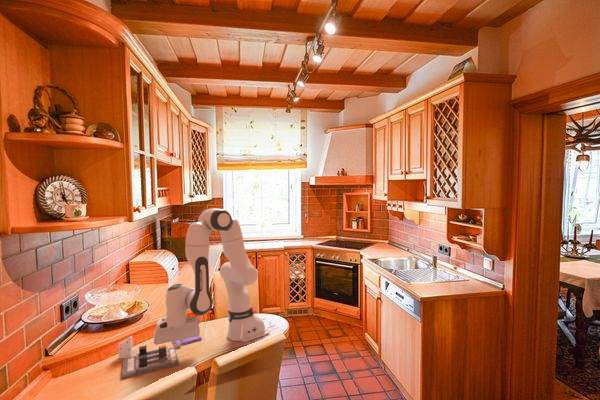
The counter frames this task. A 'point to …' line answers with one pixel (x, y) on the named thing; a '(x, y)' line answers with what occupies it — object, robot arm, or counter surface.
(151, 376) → the counter surface
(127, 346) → the white angled block
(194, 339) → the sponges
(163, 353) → the breaker
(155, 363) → the breaker panel
